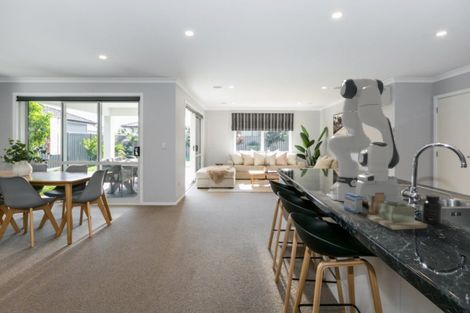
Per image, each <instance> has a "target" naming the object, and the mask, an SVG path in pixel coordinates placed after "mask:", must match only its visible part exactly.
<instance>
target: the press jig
mask: <svg viewBox="0 0 470 313" xmlns="http://www.w3.org/2000/svg"><path fill="white" fill-rule="evenodd" d="M415 212H416V207H415V206H412V205H409V204H405V203H402V202H400V201H399V202H385V203H379V213H378V214H367V216H366V217H367V219H368V220H369V221H370V220H371V221H372V222H375V223H377V224H378V225H381V226H383V227H386V228H388V229H390V230H391V231H392V230H393V231H395V230H396V231H397V230H412V229H415V230H417V229H428V223H425V222H423V221H418V220H416V219H415V215H416V214H415Z"/></svg>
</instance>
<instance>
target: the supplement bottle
mask: <svg viewBox="0 0 470 313" xmlns="http://www.w3.org/2000/svg"><path fill="white" fill-rule="evenodd" d="M442 213H443V204H442V203H441V202H440V196H439V195H437V194H426V195H425V200H424V201H423V202H422V218H421V219H422V223H425V224H427V225H437V224H438V225H441V224H442V219H443V218H442V217H443V216H442V215H443V214H442Z"/></svg>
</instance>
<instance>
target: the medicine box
mask: <svg viewBox="0 0 470 313" xmlns="http://www.w3.org/2000/svg"><path fill="white" fill-rule="evenodd" d="M363 200H364V199H363V197H361V196H358V195H357V194H353V193H345V196H344V201H343V210H344V209H345V210H344V211H347V210H348V211H349V212H350V213H355V214H358V213H359V212H361V213H363Z"/></svg>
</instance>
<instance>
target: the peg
mask: <svg viewBox="0 0 470 313" xmlns="http://www.w3.org/2000/svg"><path fill="white" fill-rule="evenodd" d="M371 201H372V202H373V205H371V206H370V205H368V212H369V213H372V214H373V215H378V213H379V203H384V193H375V196H372V198H371Z"/></svg>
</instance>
